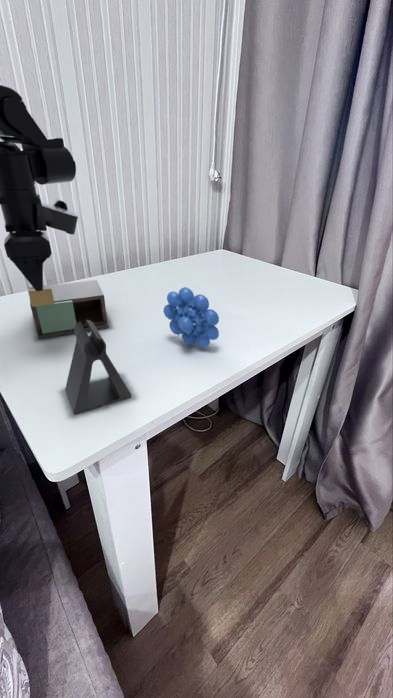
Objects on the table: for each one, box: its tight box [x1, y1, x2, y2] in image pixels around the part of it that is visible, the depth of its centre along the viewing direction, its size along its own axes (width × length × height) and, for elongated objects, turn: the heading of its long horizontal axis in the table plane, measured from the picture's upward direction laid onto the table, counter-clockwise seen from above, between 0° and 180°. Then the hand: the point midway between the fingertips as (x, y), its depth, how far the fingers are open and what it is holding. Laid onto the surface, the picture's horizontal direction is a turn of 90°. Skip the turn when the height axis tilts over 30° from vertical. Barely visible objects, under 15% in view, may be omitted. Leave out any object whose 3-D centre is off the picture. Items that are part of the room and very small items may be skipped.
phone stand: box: [64, 320, 132, 416], centre depth 50 cm, size 9×6×12 cm, turn 119°
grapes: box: [162, 286, 220, 348], centre depth 63 cm, size 12×7×12 cm, turn 67°
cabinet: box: [28, 279, 110, 340], centre depth 71 cm, size 14×10×7 cm
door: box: [27, 287, 76, 334], centre depth 65 cm, size 7×1×9 cm, turn 114°
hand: (38, 281), depth 61 cm, fingers open, 9 cm apart
